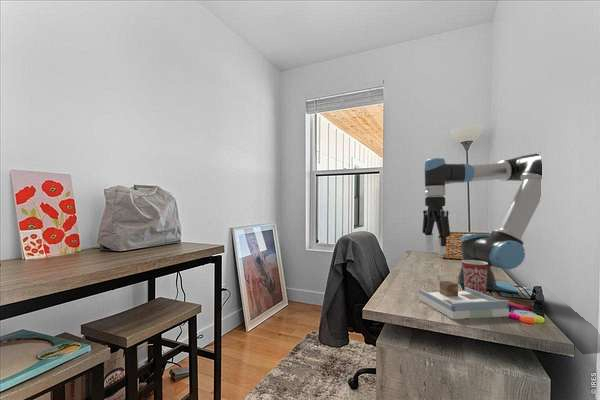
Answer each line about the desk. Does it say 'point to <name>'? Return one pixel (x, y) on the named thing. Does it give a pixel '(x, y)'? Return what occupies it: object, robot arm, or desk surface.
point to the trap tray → (466, 304)
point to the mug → (475, 275)
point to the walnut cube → (448, 288)
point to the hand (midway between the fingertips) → (435, 252)
